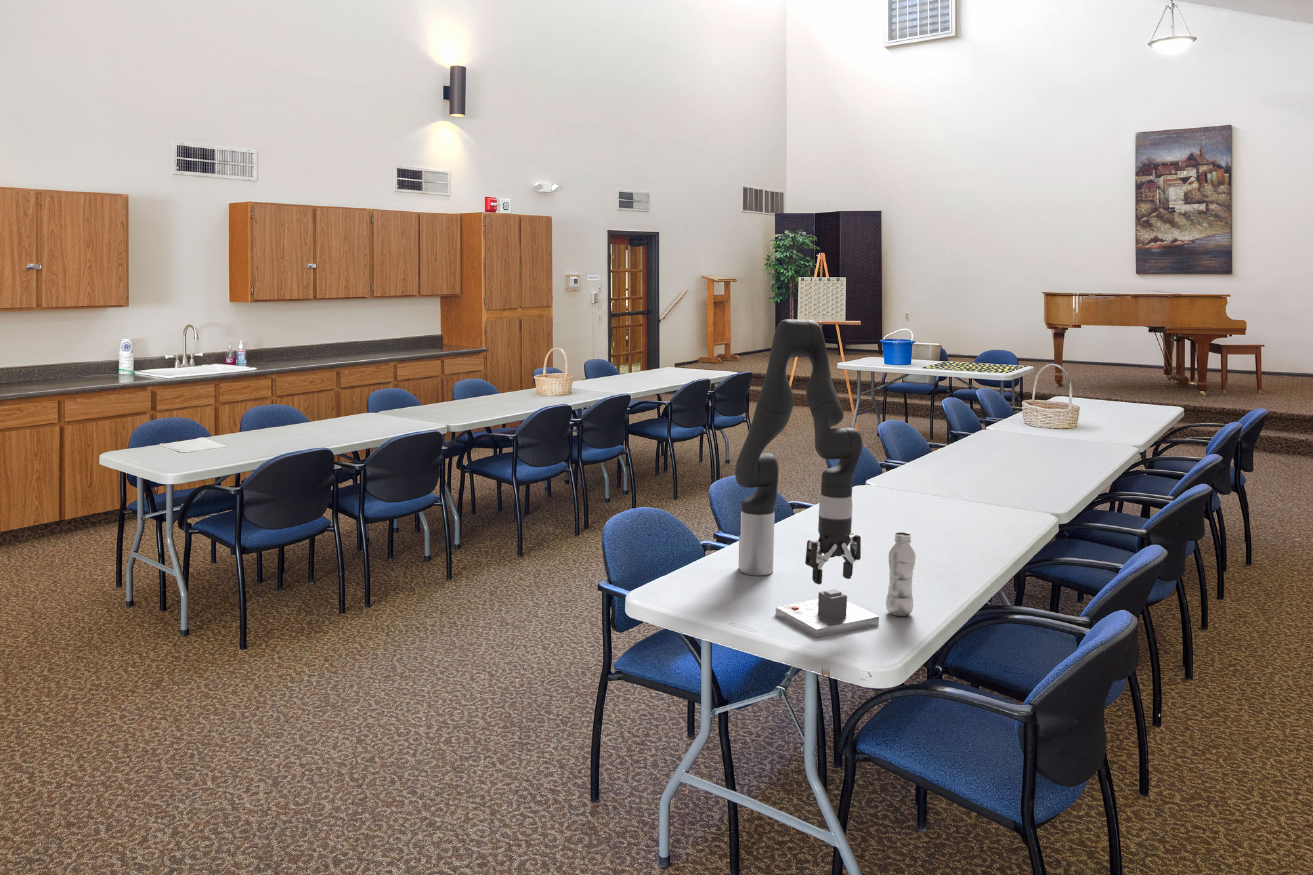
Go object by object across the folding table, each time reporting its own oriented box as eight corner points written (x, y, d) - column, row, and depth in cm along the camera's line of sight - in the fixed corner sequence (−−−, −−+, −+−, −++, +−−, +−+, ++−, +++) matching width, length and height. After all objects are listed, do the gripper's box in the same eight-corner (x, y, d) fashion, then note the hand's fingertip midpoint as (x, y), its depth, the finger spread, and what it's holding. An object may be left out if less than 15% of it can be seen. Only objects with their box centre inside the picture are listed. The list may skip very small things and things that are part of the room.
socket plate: (775, 615, 214) (775, 603, 213) (835, 603, 222) (835, 592, 221) (816, 637, 200) (816, 625, 199) (878, 624, 208) (879, 613, 207)
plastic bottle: (907, 609, 218) (911, 530, 215) (916, 619, 211) (921, 537, 208) (881, 609, 218) (885, 530, 215) (889, 619, 211) (893, 538, 208)
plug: (817, 620, 210) (818, 589, 209) (832, 617, 212) (833, 586, 211) (830, 627, 206) (832, 596, 205) (845, 624, 208) (847, 593, 207)
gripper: (849, 506, 211) (846, 571, 214) (800, 513, 205) (797, 580, 208) (870, 514, 205) (866, 581, 208) (820, 521, 198) (817, 590, 201)
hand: (832, 580), depth 208 cm, fingers open, 8 cm apart
